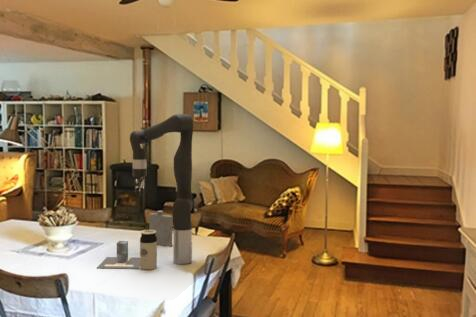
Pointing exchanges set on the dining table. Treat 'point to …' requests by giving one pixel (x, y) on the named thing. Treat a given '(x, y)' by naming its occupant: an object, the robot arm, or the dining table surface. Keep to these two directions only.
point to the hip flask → (161, 227)
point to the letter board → (112, 263)
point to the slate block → (122, 251)
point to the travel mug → (148, 250)
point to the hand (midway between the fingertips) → (139, 196)
